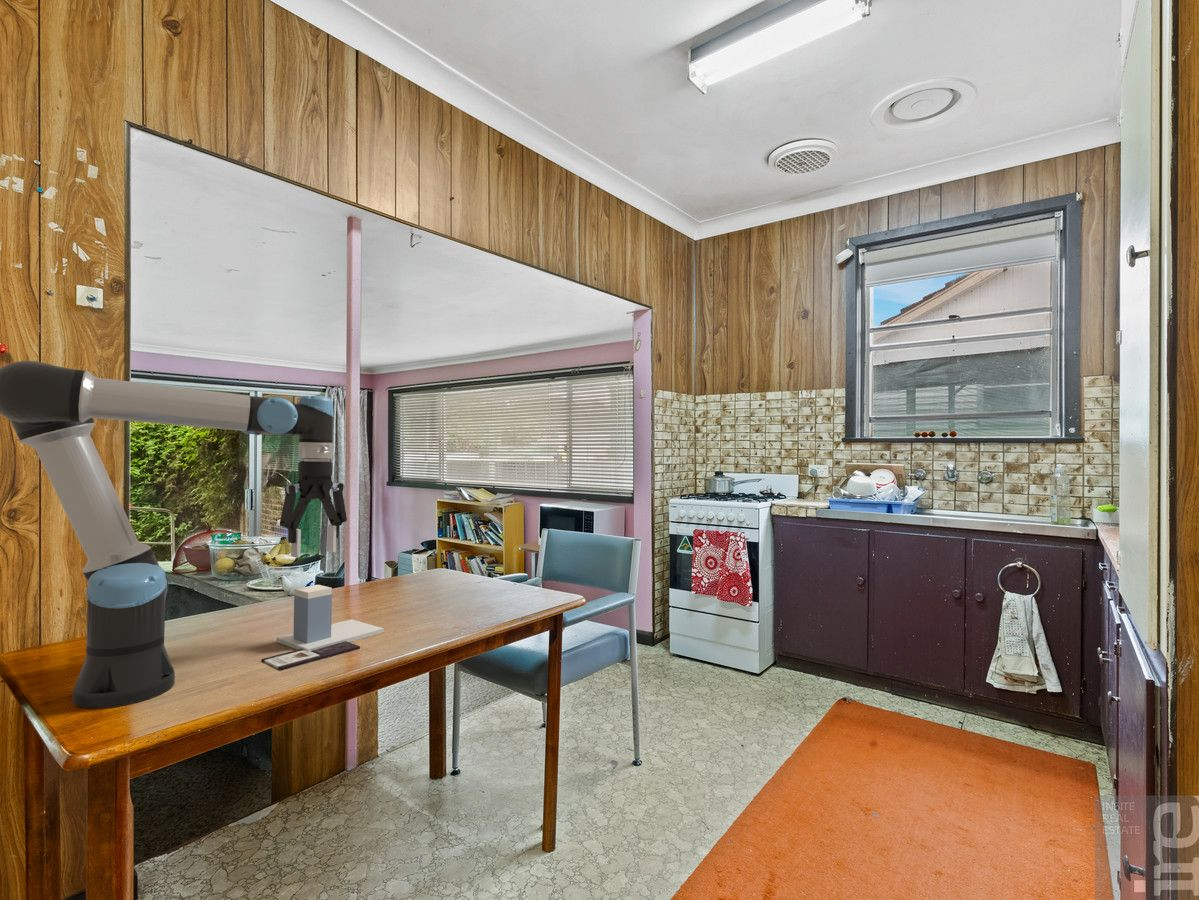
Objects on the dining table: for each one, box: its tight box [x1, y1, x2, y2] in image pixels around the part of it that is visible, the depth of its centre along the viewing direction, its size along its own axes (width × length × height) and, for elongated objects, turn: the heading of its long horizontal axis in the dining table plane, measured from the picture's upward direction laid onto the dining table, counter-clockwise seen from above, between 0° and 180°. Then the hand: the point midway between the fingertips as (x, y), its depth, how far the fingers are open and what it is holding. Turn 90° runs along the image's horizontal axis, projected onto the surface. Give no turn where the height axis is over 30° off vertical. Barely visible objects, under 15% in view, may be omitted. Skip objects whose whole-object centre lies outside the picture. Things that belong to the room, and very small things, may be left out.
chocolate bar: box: [261, 641, 361, 671], centre depth 135 cm, size 9×1×18 cm
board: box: [275, 618, 385, 652], centre depth 148 cm, size 20×14×1 cm
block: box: [293, 584, 333, 644], centre depth 143 cm, size 6×6×12 cm
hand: (314, 554), depth 144 cm, fingers open, 8 cm apart
